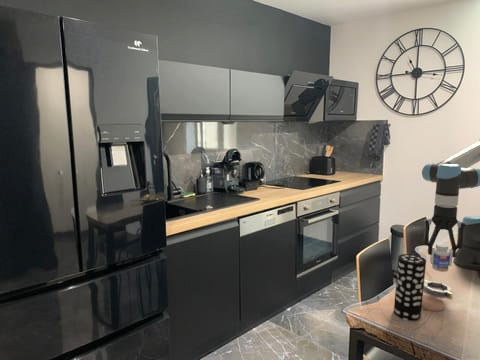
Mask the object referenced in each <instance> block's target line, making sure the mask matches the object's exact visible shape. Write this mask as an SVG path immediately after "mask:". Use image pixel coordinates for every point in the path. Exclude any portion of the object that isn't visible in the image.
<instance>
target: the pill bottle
mask: <svg viewBox="0 0 480 360" xmlns="http://www.w3.org/2000/svg"><path fill="white" fill-rule="evenodd" d="M449 256H450V253H449V245H447V244H445V243H436V244H435V250H434V261H433V264H431V266H432V267H431V268H432V269H433V270H435V271H436V272H440V273H441V272H442V273H446V272H448V271H449V267H450V266H449Z"/></svg>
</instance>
